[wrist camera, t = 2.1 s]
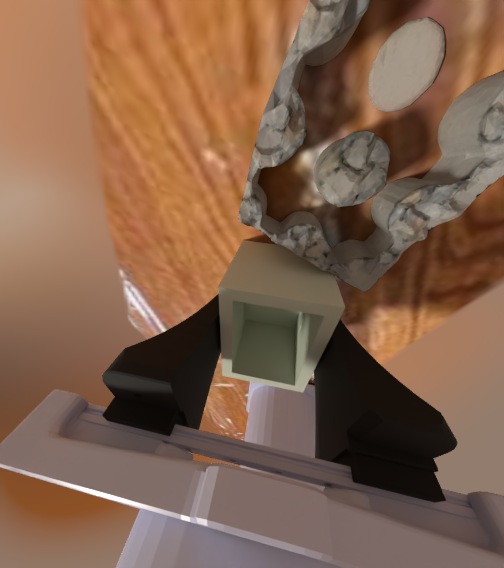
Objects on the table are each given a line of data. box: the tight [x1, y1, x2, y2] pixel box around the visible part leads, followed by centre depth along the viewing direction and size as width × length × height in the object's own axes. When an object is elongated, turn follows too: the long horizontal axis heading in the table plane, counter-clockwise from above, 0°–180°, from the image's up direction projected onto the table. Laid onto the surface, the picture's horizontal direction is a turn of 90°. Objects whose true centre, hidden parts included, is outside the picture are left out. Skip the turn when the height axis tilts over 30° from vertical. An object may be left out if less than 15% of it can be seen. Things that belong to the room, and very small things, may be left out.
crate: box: [218, 240, 345, 393], centre depth 11 cm, size 7×5×5 cm
